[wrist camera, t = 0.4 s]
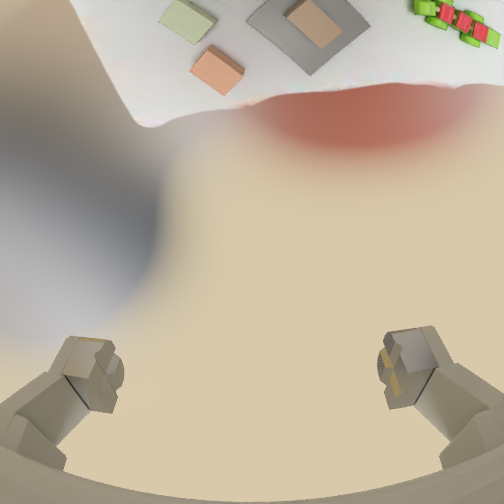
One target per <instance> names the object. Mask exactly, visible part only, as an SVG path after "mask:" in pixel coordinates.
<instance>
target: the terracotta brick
mask: <svg viewBox="0 0 504 504" xmlns="http://www.w3.org/2000/svg"><path fill="white" fill-rule="evenodd" d="M189 72H191V73H192V74H194V75H195V76H197V77H198V78H199V79H201V80H202V81H204V82H205V83H207V84H208V85H209V86H211V87H212V88H214V89H215V90H216V91H218V92H219V93H220V94H222V95H223V96H225V95H226V94H227V93H228V92H229V91H230V90H231V89H232V88H233V87H234V85H235V84H236V83H237V82H238V81H239V80H240V79H241V78H242V77H243V74H244V68H242V67H241V66H240V65H238V64H237V63H236V62H235V61H233V60H232V59H231V58H229V57H228V56H226V55H225V54H224V53H222V52H221V51H220V50H218V49H217V48H215V47H214V46H213V45H211V46H210V47H209V48H208V49H207V51H206V52H205V53H204V54H203V55H202V56H201V57H200V59H199V60H198V61H197V62H196V63H195V64H194V66H193V67H192V68H191V70H190V71H189Z"/></svg>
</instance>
